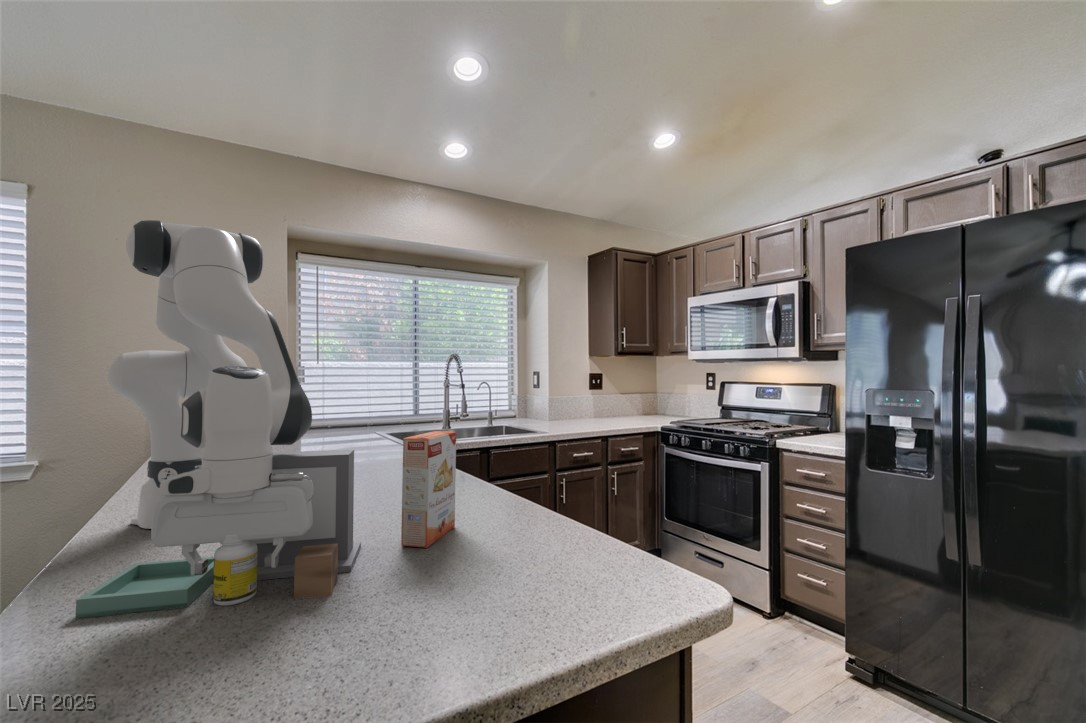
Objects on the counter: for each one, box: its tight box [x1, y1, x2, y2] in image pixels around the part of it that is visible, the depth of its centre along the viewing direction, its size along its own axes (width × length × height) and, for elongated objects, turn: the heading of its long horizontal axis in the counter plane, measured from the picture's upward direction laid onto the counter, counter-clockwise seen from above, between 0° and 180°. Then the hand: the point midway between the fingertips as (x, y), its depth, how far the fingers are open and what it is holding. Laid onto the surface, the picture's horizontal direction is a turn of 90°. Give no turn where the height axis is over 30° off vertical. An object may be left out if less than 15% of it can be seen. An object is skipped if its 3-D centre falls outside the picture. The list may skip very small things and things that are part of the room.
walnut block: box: [293, 543, 338, 600], centre depth 71 cm, size 5×5×6 cm
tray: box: [75, 556, 214, 620], centre depth 71 cm, size 13×13×2 cm
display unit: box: [250, 449, 362, 581], centre depth 82 cm, size 12×20×19 cm, turn 104°
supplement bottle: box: [212, 535, 258, 607], centre depth 69 cm, size 5×5×10 cm
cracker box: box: [400, 430, 457, 549], centre depth 96 cm, size 14×6×21 cm, turn 168°
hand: (235, 570), depth 69 cm, fingers open, 8 cm apart
